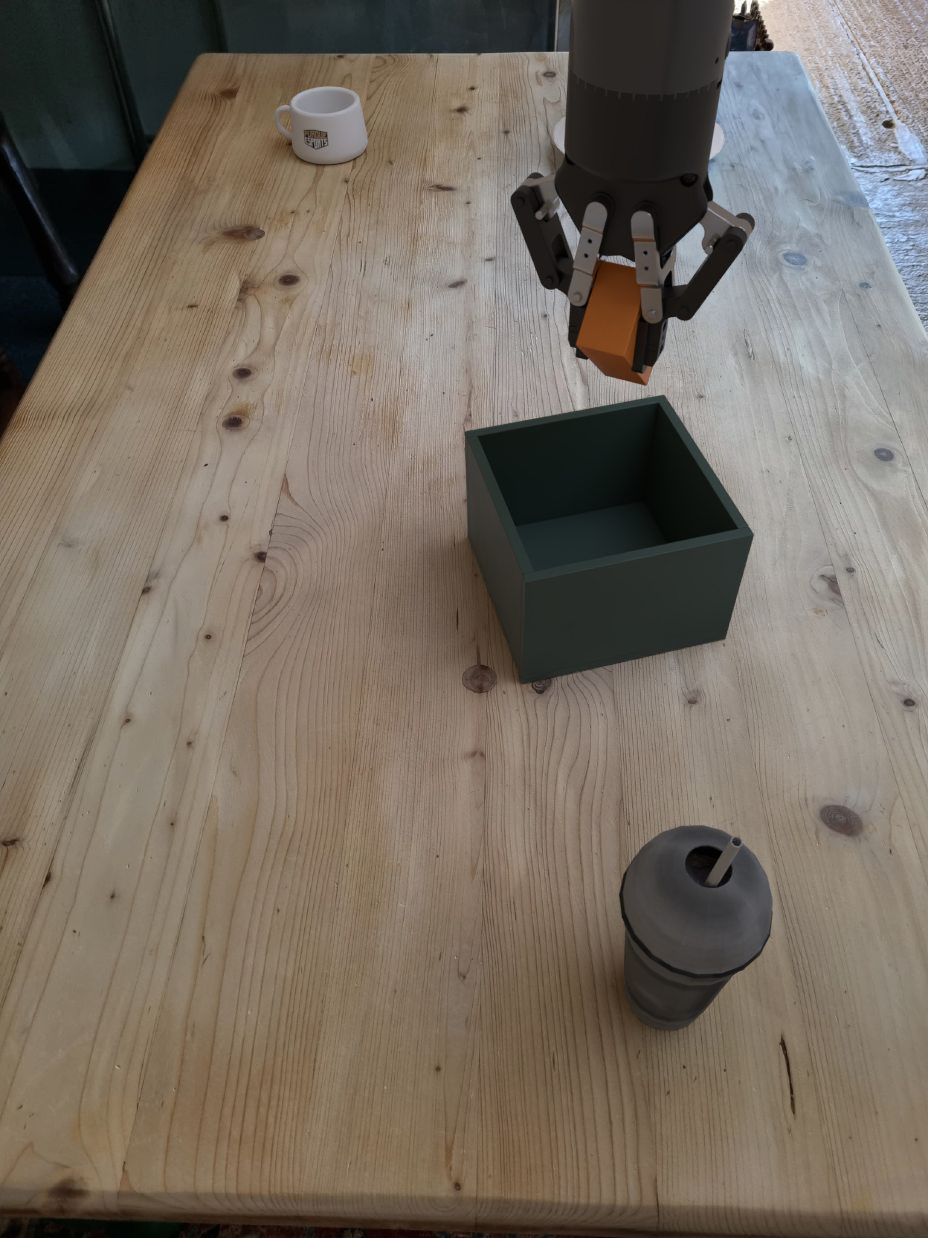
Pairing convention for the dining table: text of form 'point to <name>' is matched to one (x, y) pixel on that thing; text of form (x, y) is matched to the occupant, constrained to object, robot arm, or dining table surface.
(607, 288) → the block
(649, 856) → the beverage cup
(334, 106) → the mug
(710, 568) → the open box
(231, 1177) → the dining table surface
